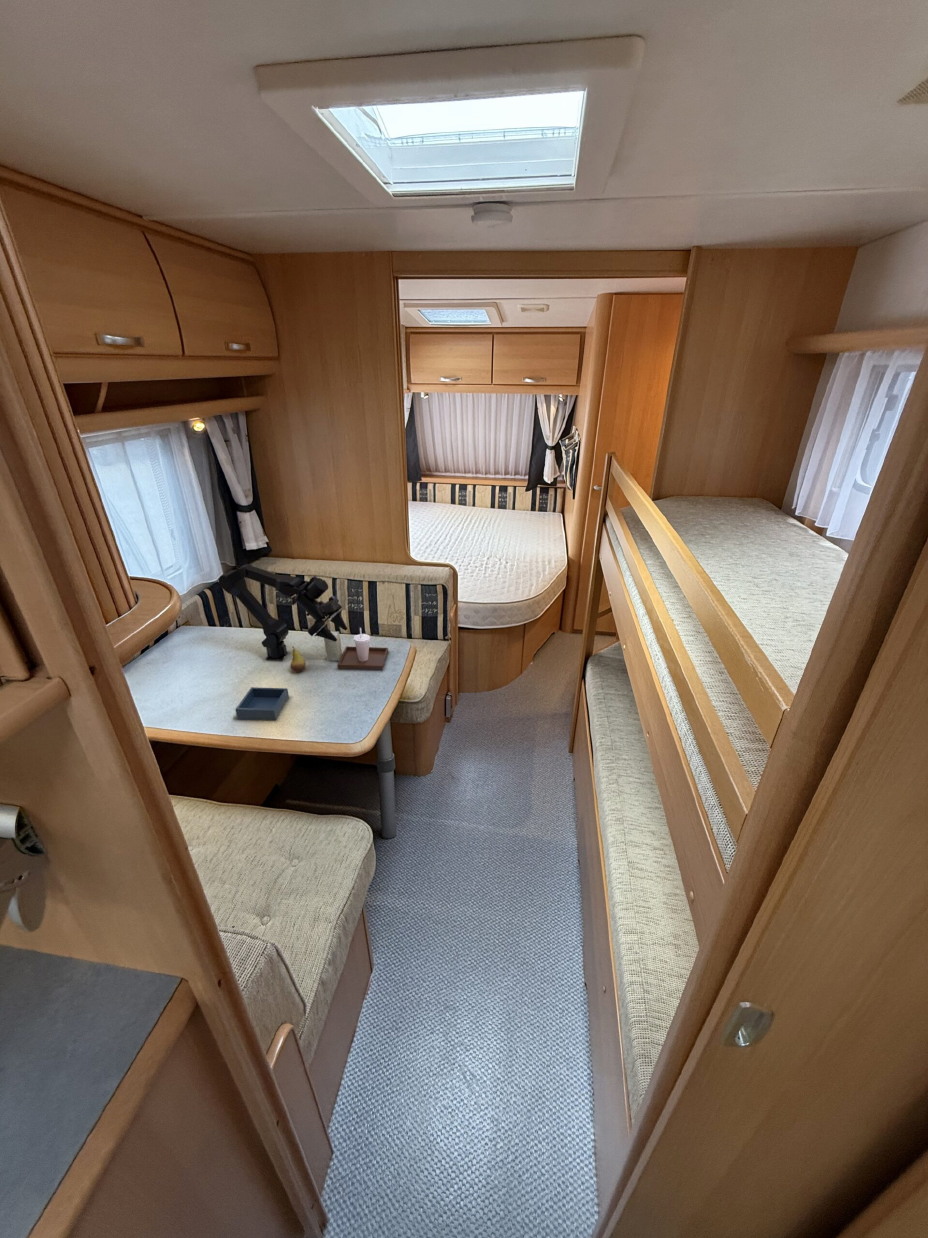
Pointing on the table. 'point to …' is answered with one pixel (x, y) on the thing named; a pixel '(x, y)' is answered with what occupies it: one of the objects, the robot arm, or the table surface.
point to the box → (333, 647)
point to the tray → (373, 663)
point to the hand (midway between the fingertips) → (341, 635)
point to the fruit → (297, 661)
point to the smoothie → (362, 646)
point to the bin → (262, 703)
